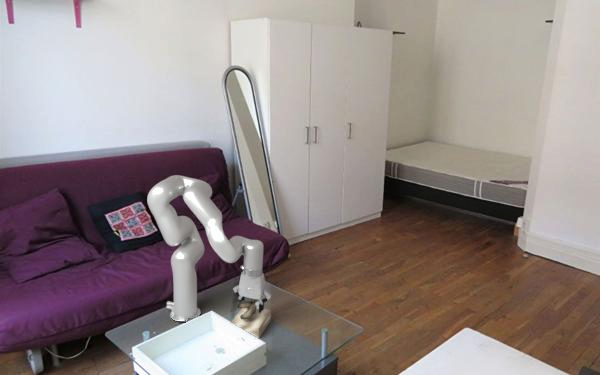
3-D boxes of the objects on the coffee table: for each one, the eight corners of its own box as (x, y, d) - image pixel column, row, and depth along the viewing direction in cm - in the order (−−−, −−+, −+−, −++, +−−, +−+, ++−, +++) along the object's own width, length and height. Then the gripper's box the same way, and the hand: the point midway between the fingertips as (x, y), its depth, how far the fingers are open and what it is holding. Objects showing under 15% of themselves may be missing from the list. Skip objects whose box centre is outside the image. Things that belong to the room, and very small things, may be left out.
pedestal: (230, 332, 190) (231, 321, 188) (244, 314, 203) (245, 304, 201) (258, 338, 186) (258, 328, 185) (270, 320, 199) (271, 310, 198)
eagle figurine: (245, 302, 197) (232, 308, 189) (255, 292, 194) (241, 297, 187) (256, 317, 195) (242, 323, 187) (265, 307, 192) (253, 313, 184)
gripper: (229, 270, 186) (228, 309, 191) (270, 278, 181) (268, 318, 186) (236, 262, 193) (235, 300, 198) (276, 270, 188) (274, 309, 193)
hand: (251, 308), depth 192 cm, fingers closed on eagle figurine, 7 cm apart
